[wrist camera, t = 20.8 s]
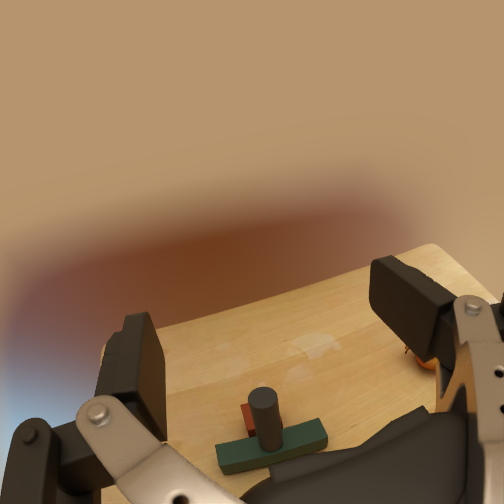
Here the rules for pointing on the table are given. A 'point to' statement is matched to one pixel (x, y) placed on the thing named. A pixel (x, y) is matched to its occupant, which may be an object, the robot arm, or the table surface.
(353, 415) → the table surface
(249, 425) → the rust-brown cube
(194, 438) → the table surface
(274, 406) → the wiper
